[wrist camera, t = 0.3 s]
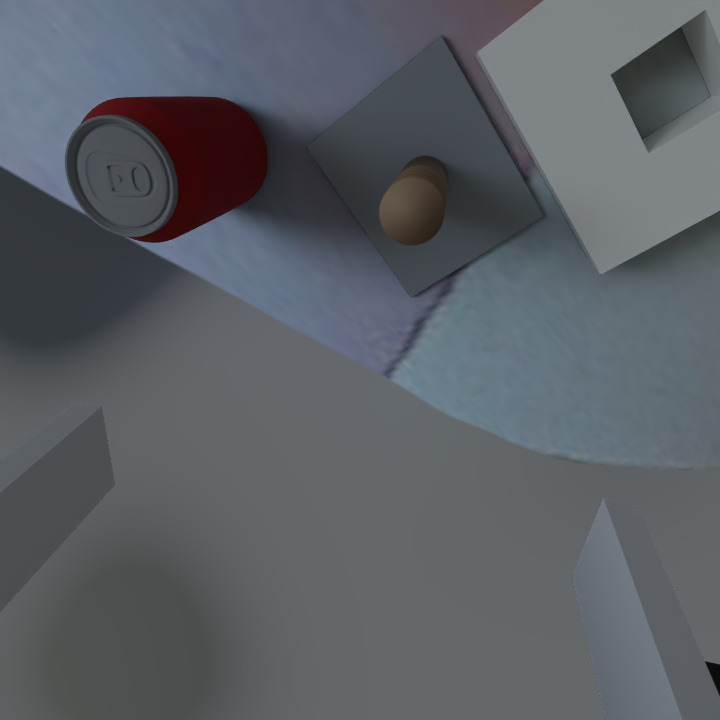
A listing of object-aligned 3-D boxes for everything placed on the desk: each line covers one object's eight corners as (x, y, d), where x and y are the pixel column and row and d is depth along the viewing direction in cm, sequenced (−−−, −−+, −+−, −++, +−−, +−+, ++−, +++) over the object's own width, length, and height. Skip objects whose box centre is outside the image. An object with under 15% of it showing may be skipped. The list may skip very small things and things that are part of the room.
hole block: (475, 56, 29) (477, 52, 26) (742, -152, 24) (783, -188, 21) (587, 258, 33) (600, 274, 30) (838, 118, 28) (885, 121, 25)
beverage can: (166, 96, 33) (31, 97, 23) (267, 95, 32) (174, 96, 22) (183, 204, 36) (71, 249, 26) (276, 207, 35) (198, 254, 25)
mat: (307, 146, 33) (306, 146, 33) (441, 36, 29) (441, 35, 29) (411, 295, 37) (410, 297, 36) (543, 214, 33) (544, 216, 32)
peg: (391, 174, 33) (366, 204, 24) (431, 145, 32) (421, 165, 23) (417, 214, 34) (402, 257, 25) (457, 187, 32) (457, 222, 24)
